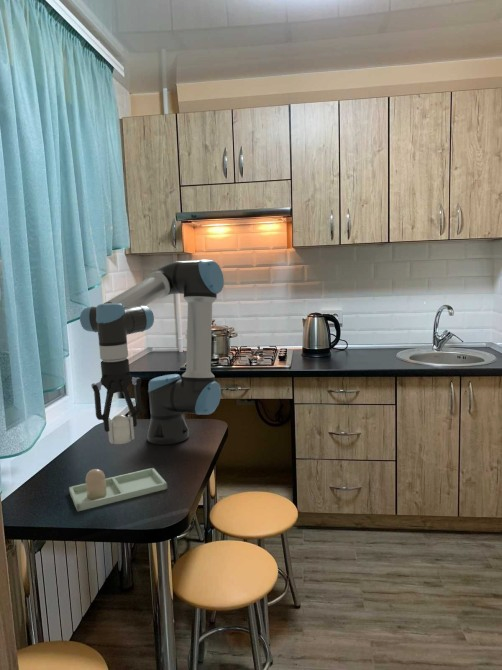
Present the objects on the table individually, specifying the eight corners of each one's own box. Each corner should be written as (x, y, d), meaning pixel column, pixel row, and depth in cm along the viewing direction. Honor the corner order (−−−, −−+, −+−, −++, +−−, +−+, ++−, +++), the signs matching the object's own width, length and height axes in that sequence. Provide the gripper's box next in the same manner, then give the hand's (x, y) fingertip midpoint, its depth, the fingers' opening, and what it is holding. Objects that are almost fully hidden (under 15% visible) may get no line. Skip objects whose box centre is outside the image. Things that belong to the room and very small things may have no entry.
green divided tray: (153, 475, 156) (153, 467, 156) (167, 491, 145) (167, 483, 144) (69, 495, 145) (69, 487, 145) (77, 514, 134) (76, 505, 133)
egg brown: (104, 490, 146) (102, 464, 145) (108, 497, 141) (106, 470, 140) (85, 494, 143) (83, 468, 142) (89, 501, 139) (86, 475, 138)
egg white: (128, 436, 149) (126, 411, 148) (133, 441, 144) (130, 415, 143) (110, 440, 147) (108, 414, 146) (114, 445, 142) (111, 419, 141)
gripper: (143, 353, 149) (149, 430, 153) (78, 361, 142) (86, 442, 145) (150, 357, 143) (156, 437, 146) (82, 365, 135) (90, 450, 138)
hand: (121, 439), depth 146 cm, fingers closed on egg white, 5 cm apart
